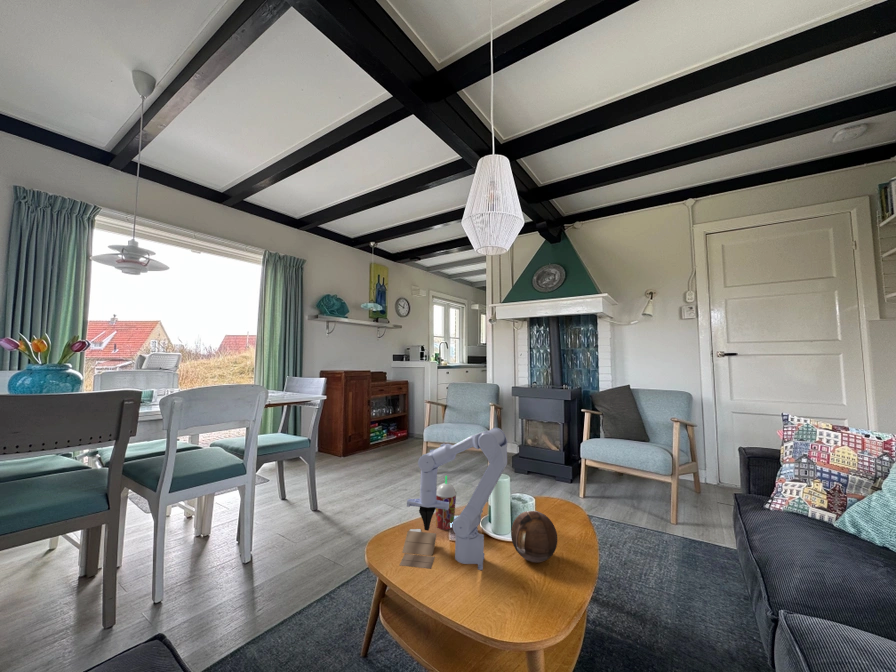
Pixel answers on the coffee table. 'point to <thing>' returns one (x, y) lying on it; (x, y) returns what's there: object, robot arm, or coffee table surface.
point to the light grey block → (416, 530)
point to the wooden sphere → (534, 536)
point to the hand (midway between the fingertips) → (427, 529)
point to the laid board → (417, 561)
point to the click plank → (419, 543)
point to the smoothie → (449, 495)
